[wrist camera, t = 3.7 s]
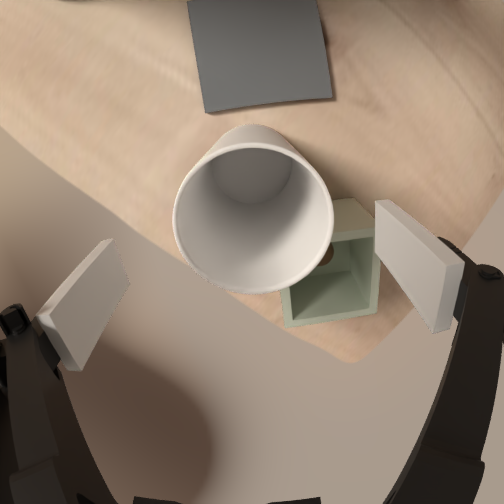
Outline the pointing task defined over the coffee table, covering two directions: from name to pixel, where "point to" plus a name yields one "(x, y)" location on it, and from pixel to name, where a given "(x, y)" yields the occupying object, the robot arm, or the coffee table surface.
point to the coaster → (258, 52)
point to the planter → (339, 273)
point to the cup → (253, 213)
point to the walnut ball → (327, 256)
